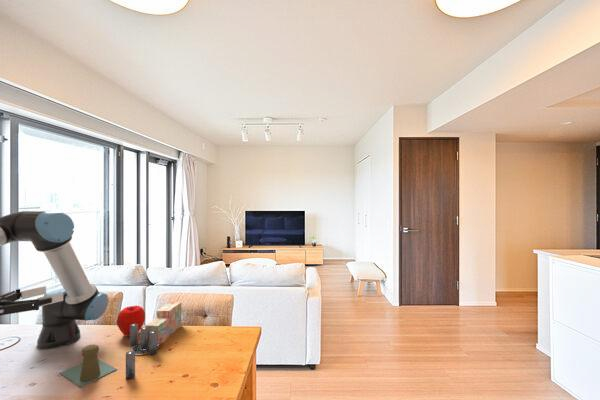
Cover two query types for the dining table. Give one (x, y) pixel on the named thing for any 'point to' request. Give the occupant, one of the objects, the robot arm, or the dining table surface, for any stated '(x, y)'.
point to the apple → (130, 318)
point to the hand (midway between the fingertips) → (54, 293)
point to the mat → (75, 373)
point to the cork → (90, 363)
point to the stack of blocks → (166, 321)
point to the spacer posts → (144, 345)
